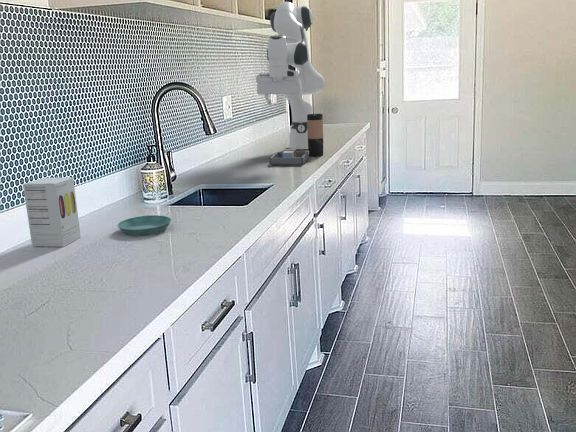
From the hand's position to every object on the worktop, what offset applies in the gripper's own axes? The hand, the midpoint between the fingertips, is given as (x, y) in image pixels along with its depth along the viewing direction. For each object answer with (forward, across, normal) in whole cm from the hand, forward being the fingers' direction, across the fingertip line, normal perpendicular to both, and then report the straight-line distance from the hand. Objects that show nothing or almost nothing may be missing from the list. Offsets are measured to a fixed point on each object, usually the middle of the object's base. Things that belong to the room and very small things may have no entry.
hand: (279, 104), depth 266 cm
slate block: (+26, +4, -5) cm, 26 cm away
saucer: (+25, -19, -116) cm, 120 cm away
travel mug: (+27, +14, +18) cm, 35 cm away
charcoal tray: (+26, +4, -1) cm, 27 cm away
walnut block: (+26, +4, +2) cm, 26 cm away
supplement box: (+25, -39, -128) cm, 136 cm away
